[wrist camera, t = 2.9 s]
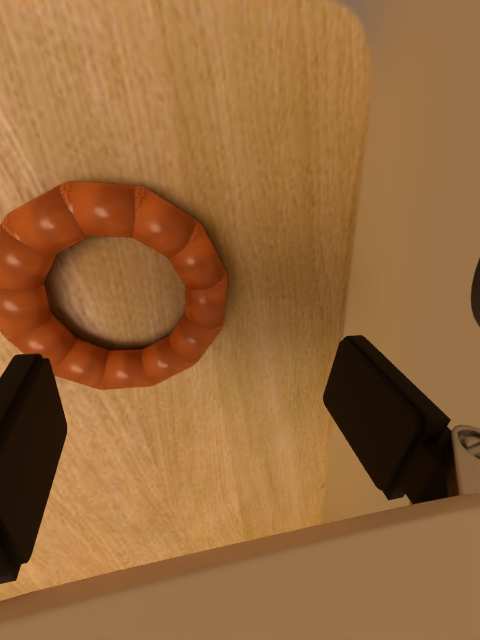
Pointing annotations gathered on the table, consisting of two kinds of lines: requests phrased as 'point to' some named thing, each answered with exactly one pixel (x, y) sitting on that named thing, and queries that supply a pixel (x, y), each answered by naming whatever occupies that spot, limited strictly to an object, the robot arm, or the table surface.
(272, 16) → the table surface
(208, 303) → the ring
